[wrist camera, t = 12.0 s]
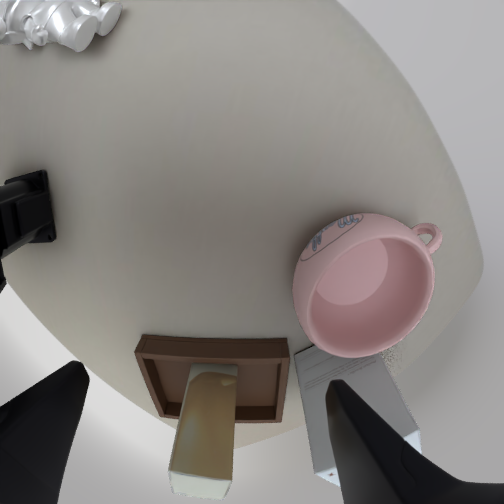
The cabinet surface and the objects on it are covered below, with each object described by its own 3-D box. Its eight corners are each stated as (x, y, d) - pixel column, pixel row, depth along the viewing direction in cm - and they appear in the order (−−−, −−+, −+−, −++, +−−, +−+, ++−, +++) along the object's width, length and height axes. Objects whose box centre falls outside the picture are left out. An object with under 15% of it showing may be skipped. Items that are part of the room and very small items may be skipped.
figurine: (48, 25, 7) (-44, 8, 1) (47, 105, 13) (-37, 64, 7) (153, -23, 11) (45, -43, 5) (128, 39, 17) (36, 8, 11)
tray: (164, 400, 27) (159, 417, 25) (142, 334, 23) (133, 352, 21) (279, 404, 27) (281, 422, 25) (286, 337, 23) (290, 357, 21)
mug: (326, 334, 23) (342, 381, 18) (259, 254, 20) (263, 296, 15) (431, 258, 21) (469, 289, 15) (386, 162, 18) (432, 171, 12)
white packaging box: (320, 391, 27) (342, 491, 15) (291, 353, 24) (311, 475, 12) (380, 362, 25) (423, 456, 13) (363, 317, 23) (421, 430, 11)
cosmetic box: (229, 400, 26) (223, 502, 15) (189, 394, 26) (171, 494, 14) (239, 361, 24) (234, 483, 12) (192, 354, 23) (166, 473, 12)
